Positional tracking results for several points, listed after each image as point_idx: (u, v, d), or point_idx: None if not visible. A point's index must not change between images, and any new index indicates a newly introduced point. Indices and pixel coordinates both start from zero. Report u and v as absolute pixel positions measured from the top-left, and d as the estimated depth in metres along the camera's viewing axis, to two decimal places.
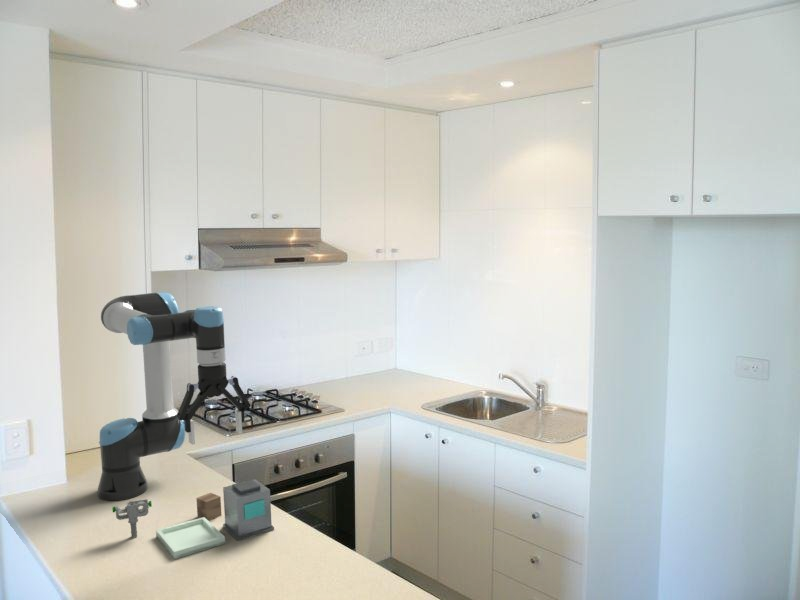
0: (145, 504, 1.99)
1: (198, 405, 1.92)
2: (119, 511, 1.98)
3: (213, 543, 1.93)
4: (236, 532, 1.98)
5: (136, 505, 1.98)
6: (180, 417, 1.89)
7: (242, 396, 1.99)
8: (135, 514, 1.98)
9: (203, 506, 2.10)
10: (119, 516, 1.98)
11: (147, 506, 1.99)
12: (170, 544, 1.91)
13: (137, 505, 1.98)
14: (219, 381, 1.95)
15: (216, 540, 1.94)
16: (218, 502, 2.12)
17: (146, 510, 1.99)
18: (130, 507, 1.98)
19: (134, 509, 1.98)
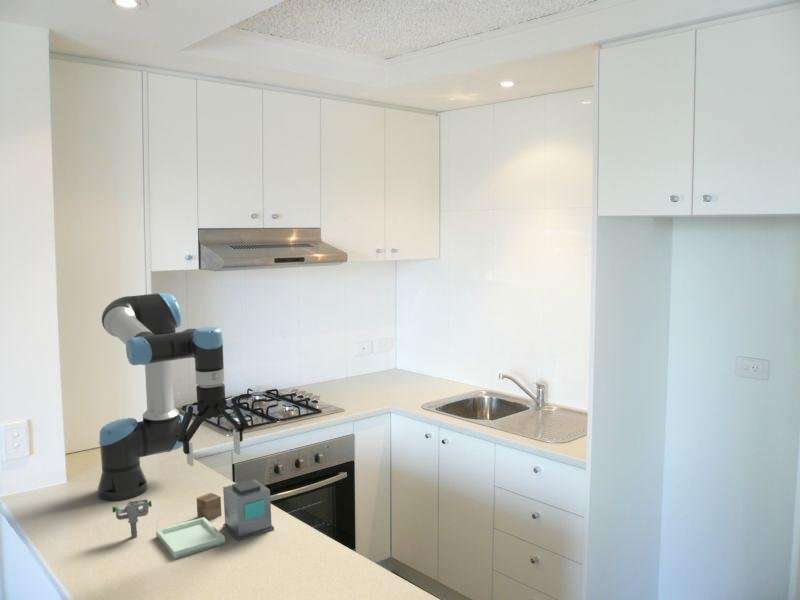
0: (145, 504, 1.99)
1: (197, 426, 1.91)
2: (119, 511, 1.98)
3: (213, 543, 1.93)
4: (236, 532, 1.98)
5: (136, 505, 1.98)
6: (179, 439, 1.88)
7: (240, 416, 1.98)
8: (135, 514, 1.98)
9: (203, 506, 2.10)
10: (119, 516, 1.98)
11: (147, 506, 1.99)
12: (170, 544, 1.91)
13: (137, 505, 1.98)
14: (218, 402, 1.94)
15: (216, 540, 1.94)
16: (218, 502, 2.12)
17: (146, 510, 1.99)
18: (130, 507, 1.98)
19: (134, 509, 1.98)
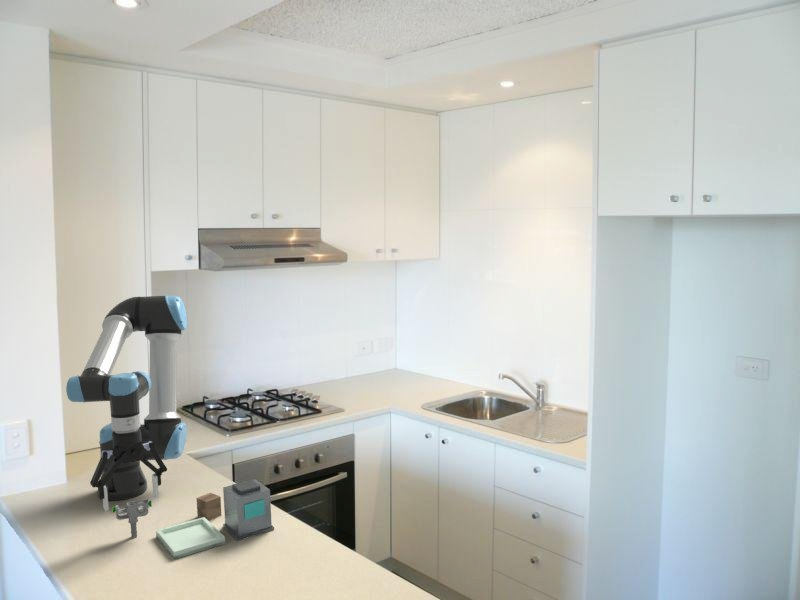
0: (145, 504, 1.99)
1: (112, 472, 1.94)
2: (119, 511, 1.98)
3: (213, 543, 1.93)
4: (236, 532, 1.98)
5: (136, 505, 1.98)
6: (93, 484, 1.91)
7: (158, 461, 2.01)
8: (135, 514, 1.98)
9: (203, 506, 2.10)
10: (119, 516, 1.98)
11: (147, 506, 1.99)
12: (170, 544, 1.91)
13: (137, 505, 1.98)
14: (134, 447, 1.97)
15: (216, 540, 1.94)
16: (218, 502, 2.12)
17: (146, 510, 1.99)
18: (130, 507, 1.98)
19: (134, 509, 1.98)
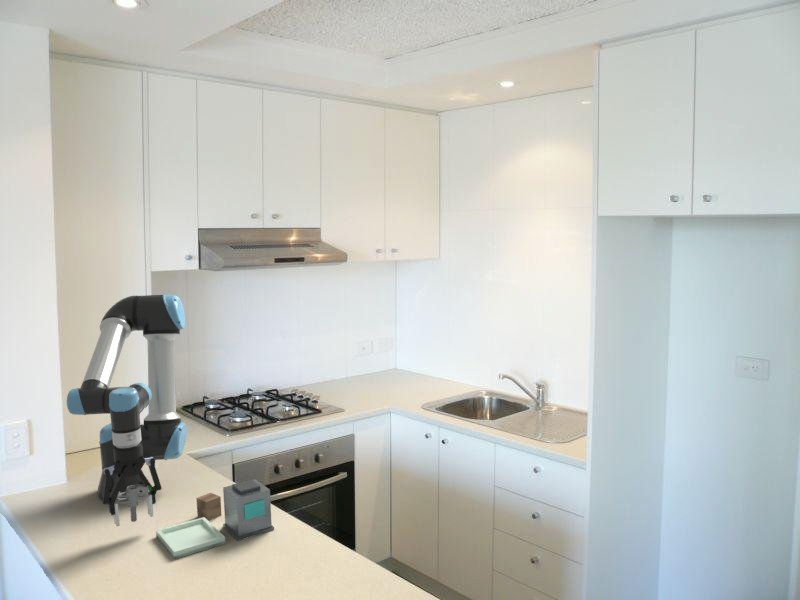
0: (145, 488, 1.99)
1: (118, 487, 1.96)
2: (119, 495, 1.98)
3: (213, 543, 1.93)
4: (236, 532, 1.98)
5: (136, 489, 1.98)
6: (104, 502, 1.94)
7: (155, 478, 2.01)
8: (135, 498, 1.99)
9: (203, 506, 2.10)
10: (119, 500, 1.98)
11: (147, 490, 1.99)
12: (170, 544, 1.91)
13: (137, 489, 1.98)
14: (136, 459, 1.98)
15: (216, 540, 1.94)
16: (218, 502, 2.12)
17: (146, 494, 2.00)
18: (130, 491, 1.98)
19: (134, 493, 1.98)
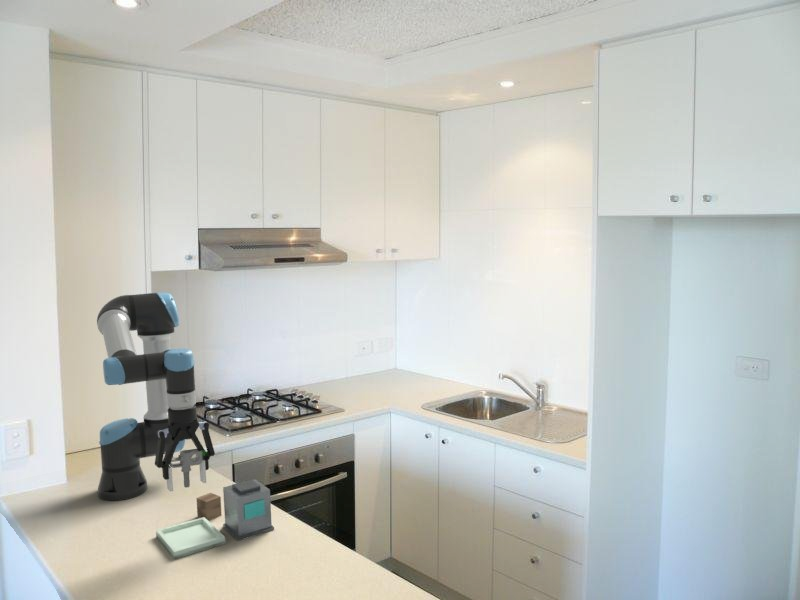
0: (199, 453, 1.94)
1: (173, 450, 1.91)
2: (172, 459, 1.93)
3: (213, 543, 1.93)
4: (236, 532, 1.98)
5: (190, 453, 1.94)
6: (158, 465, 1.89)
7: (209, 443, 1.97)
8: (189, 463, 1.94)
9: (203, 506, 2.10)
10: (172, 464, 1.93)
11: (201, 455, 1.95)
12: (170, 544, 1.91)
13: (191, 453, 1.94)
14: (190, 422, 1.93)
15: (216, 540, 1.94)
16: (218, 502, 2.12)
17: (200, 459, 1.95)
18: (184, 455, 1.93)
19: (188, 457, 1.93)
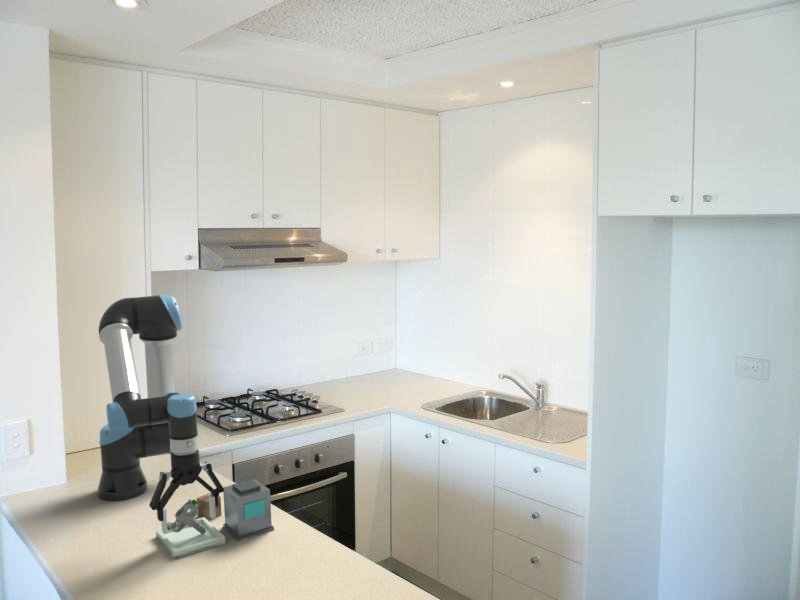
0: (190, 506, 1.94)
1: (171, 494, 1.92)
2: (174, 525, 1.95)
3: (213, 543, 1.93)
4: (236, 532, 1.98)
5: (183, 512, 1.94)
6: (152, 507, 1.89)
7: (216, 481, 1.99)
8: (189, 519, 1.95)
9: (203, 506, 2.10)
10: (177, 528, 1.96)
11: (193, 506, 1.95)
12: (170, 544, 1.91)
13: (184, 512, 1.94)
14: (192, 468, 1.95)
15: (216, 540, 1.94)
16: (218, 502, 2.12)
17: (195, 509, 1.95)
18: (180, 517, 1.94)
19: (184, 516, 1.94)
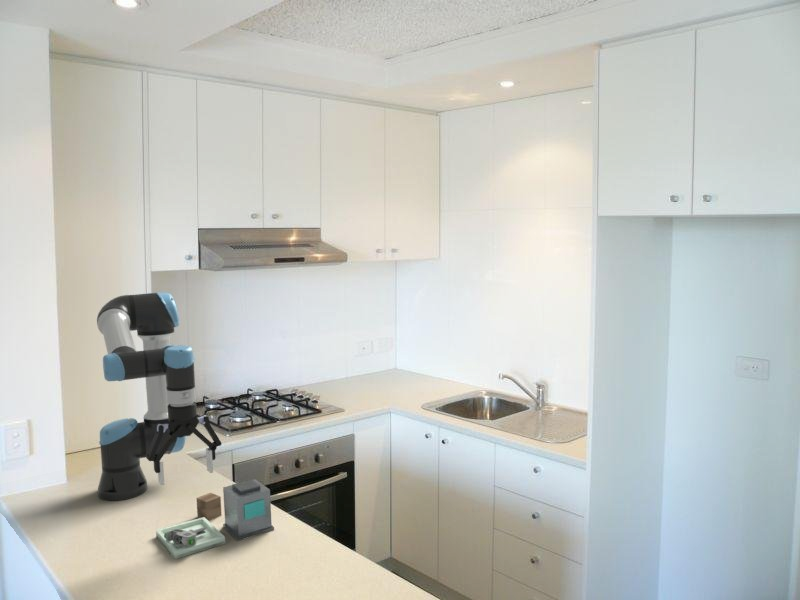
0: None
1: (168, 445, 1.90)
2: (172, 536, 1.93)
3: (213, 543, 1.93)
4: (236, 532, 1.98)
5: None
6: (149, 458, 1.88)
7: (213, 435, 1.97)
8: None
9: (203, 506, 2.10)
10: None
11: None
12: (170, 544, 1.91)
13: None
14: (189, 421, 1.93)
15: (216, 540, 1.94)
16: (218, 502, 2.12)
17: None
18: None
19: None
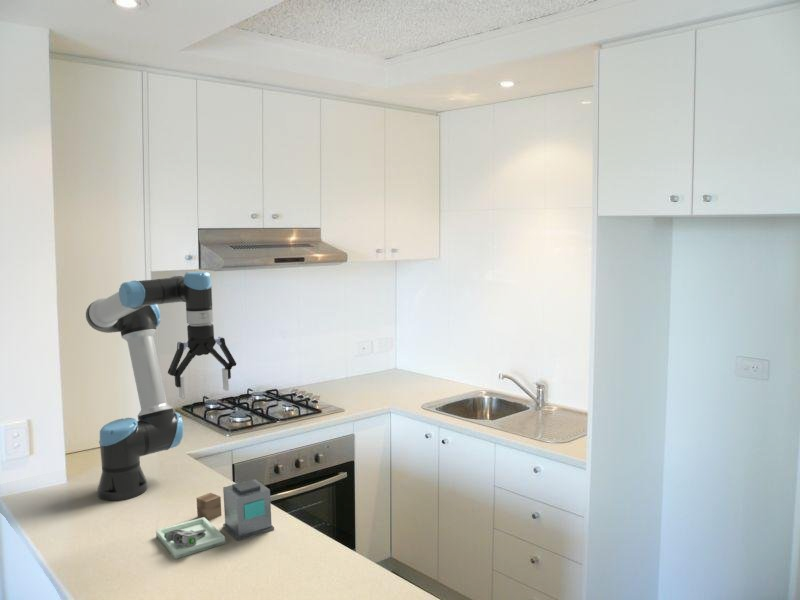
0: None
1: (187, 362, 2.07)
2: (173, 536, 1.94)
3: (213, 543, 1.93)
4: (236, 532, 1.98)
5: (180, 544, 1.90)
6: (171, 373, 2.05)
7: (228, 355, 2.15)
8: None
9: (203, 506, 2.10)
10: None
11: None
12: (170, 544, 1.91)
13: (181, 544, 1.90)
14: (207, 340, 2.10)
15: (216, 540, 1.94)
16: (218, 502, 2.12)
17: None
18: None
19: None
